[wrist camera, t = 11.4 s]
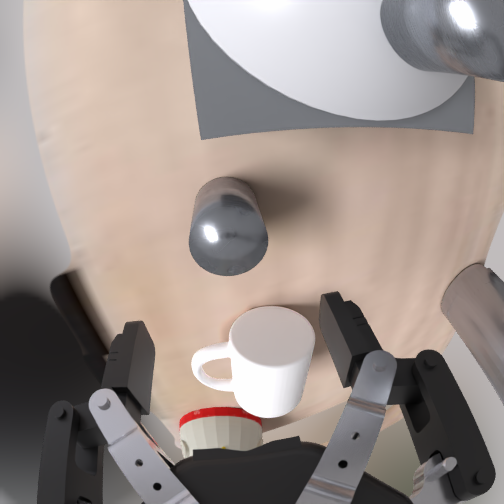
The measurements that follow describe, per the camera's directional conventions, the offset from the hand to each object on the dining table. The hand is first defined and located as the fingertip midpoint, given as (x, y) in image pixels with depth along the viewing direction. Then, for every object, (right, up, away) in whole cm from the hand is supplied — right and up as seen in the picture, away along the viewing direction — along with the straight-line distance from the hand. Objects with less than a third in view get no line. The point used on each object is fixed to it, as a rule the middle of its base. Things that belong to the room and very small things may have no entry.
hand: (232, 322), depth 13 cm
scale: (+5, +21, +3) cm, 22 cm away
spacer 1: (-1, +7, +11) cm, 13 cm away
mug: (0, -6, +20) cm, 21 cm away
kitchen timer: (-5, -26, +31) cm, 41 cm away
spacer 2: (+9, +15, -3) cm, 18 cm away
